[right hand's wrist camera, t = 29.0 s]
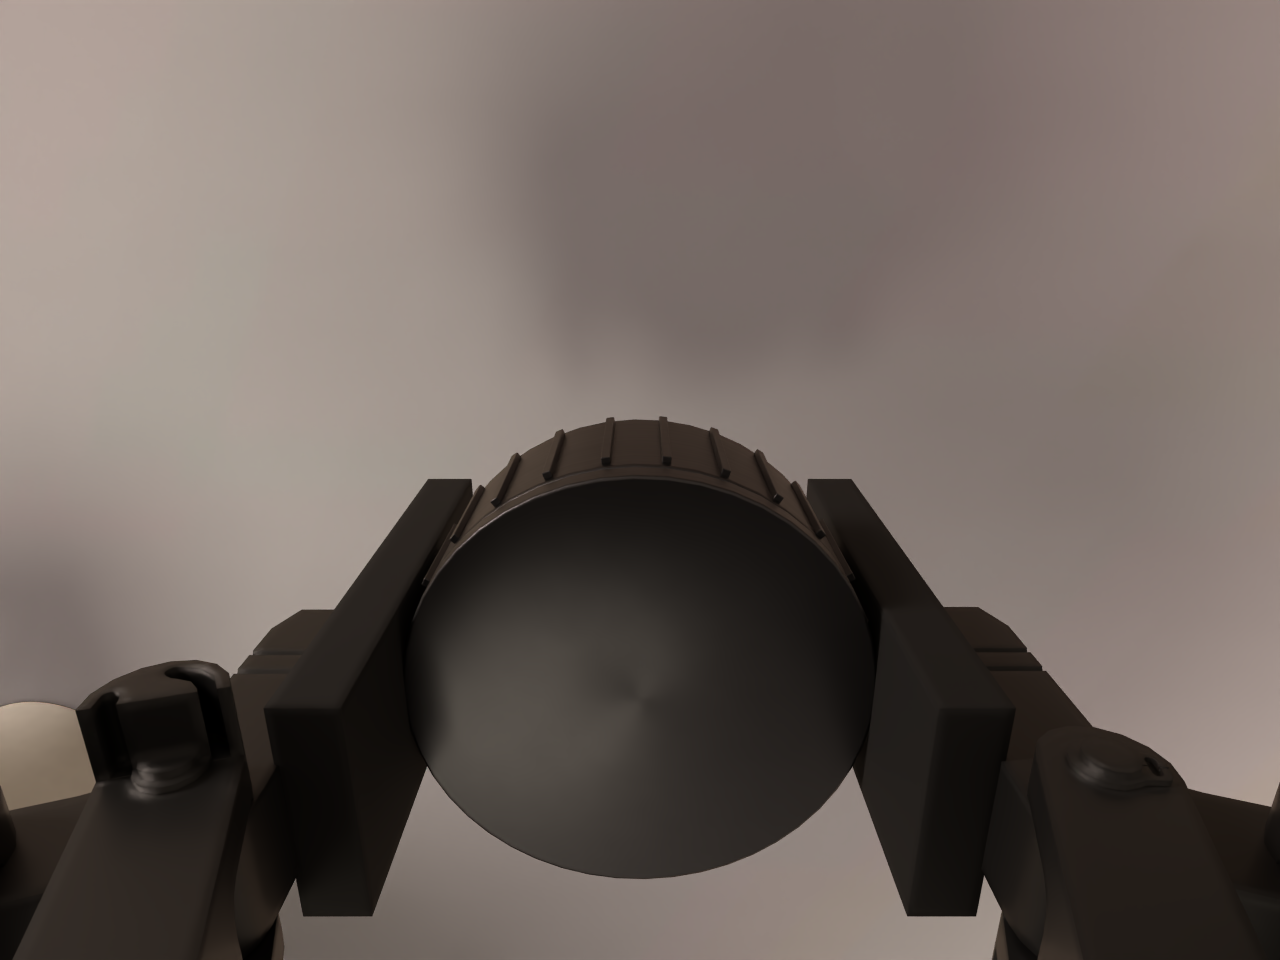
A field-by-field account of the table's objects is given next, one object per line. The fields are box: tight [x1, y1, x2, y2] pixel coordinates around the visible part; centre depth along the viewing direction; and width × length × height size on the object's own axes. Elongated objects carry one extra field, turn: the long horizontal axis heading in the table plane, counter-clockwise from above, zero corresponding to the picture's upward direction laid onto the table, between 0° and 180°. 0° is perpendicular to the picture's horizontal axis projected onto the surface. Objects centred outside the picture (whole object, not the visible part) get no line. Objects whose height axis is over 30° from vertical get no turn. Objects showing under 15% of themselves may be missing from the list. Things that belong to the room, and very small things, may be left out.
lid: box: [403, 417, 877, 879], centre depth 11 cm, size 6×6×2 cm
